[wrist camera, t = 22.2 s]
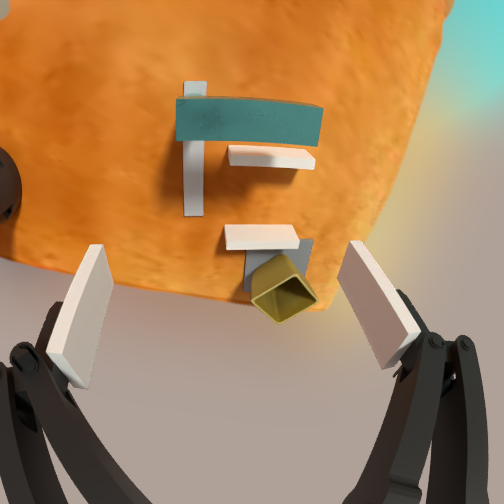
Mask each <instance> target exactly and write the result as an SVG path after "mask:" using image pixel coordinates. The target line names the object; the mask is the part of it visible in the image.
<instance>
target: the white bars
mask: <svg viewBox="0 0 504 504" xmlns="http://www.w3.org/2000/svg"><path fill="white" fill-rule="evenodd" d="M206 87H207V81H184V96H186V95H187V94H202V96H206ZM228 158H229V162H230V166H261V167H282V168H298V169H312V170H314V166H315V159H314V158H313V157H312V156H311V155H310V154H309V153H308V152H307V151H306V150H305V149H294V148H281V147H265V146H242V145H228ZM203 175H204V141H183V184H184V213H185V216H203ZM224 234H225V242H226V250H254V249H298V247H299V243H300V240H299V238H298V236H297V234H296V232H295V230H294V228H293V226H292V225H225V229H224Z"/></svg>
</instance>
